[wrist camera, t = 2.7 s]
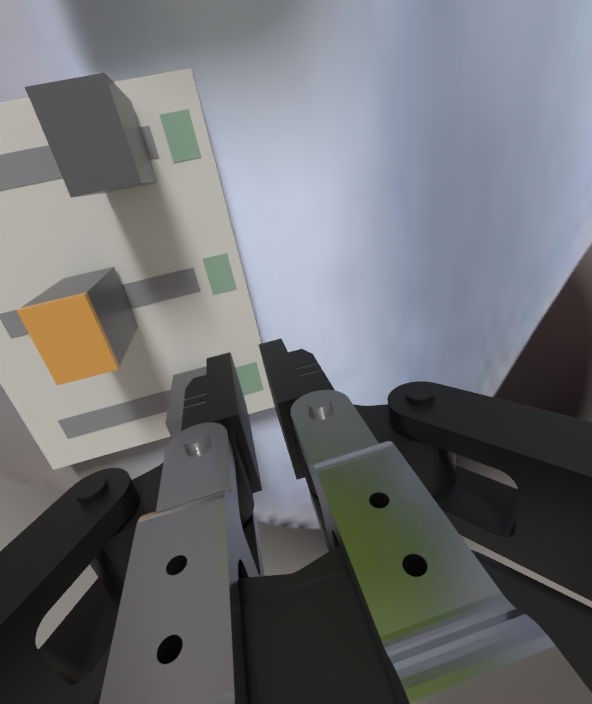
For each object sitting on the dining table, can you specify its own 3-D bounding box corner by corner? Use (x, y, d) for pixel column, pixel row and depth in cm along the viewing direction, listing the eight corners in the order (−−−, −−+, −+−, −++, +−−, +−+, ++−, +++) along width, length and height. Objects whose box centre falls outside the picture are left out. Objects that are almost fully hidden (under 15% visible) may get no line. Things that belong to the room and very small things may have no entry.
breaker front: (104, 193, 22) (70, 197, 17) (73, 111, 20) (24, 87, 15) (156, 182, 22) (141, 182, 17) (131, 100, 20) (104, 72, 15)
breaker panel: (62, 452, 30) (53, 470, 28) (-124, 134, 21) (-156, 130, 19) (273, 393, 32) (277, 406, 30) (192, 76, 22) (190, 67, 21)
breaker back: (190, 421, 29) (187, 476, 23) (173, 375, 27) (165, 423, 22) (230, 410, 29) (235, 461, 24) (215, 363, 27) (217, 408, 22)
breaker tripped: (91, 338, 25) (56, 385, 19) (63, 278, 23) (16, 310, 17) (138, 326, 25) (118, 369, 20) (114, 266, 24) (84, 294, 18)
